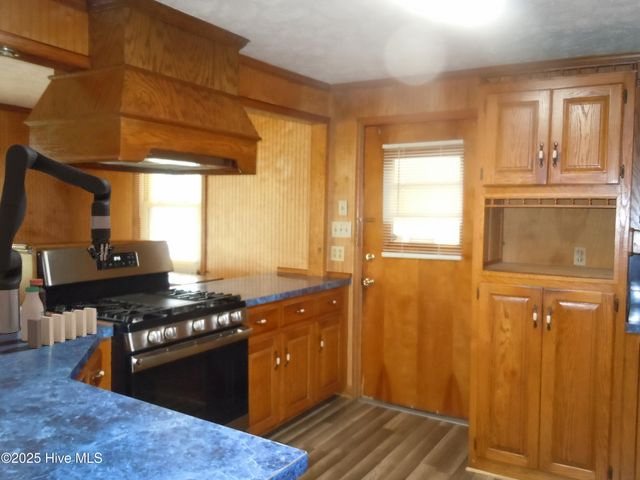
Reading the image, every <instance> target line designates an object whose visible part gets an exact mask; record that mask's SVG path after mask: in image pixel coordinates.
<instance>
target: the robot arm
mask: <svg viewBox="0 0 640 480" xmlns="http://www.w3.org/2000/svg"><path fill="white" fill-rule="evenodd" d="M4 164H5V165H4V177H3V178H4V179H3V184H2V185H3V186H2V191H1V197H0V334H10V333H11V334H12V333H17V332H21V289H20V288H21V283H22V280H23V257H22V255H21V253H20V251H18V250H17V249H14V248H13V243H14V240H15V238H16V235H17V234H18V232H19V230H20V228H21V227H22V225H23V223H24V220H25V217H26V213H27V206H28V197H27V192H26V186H25V185H26V184H25V182H26V175H27V171H28V170H33V171H37V172H41V173H43V174H47V175H49V176H51V177H53V178H55V179H56V180H58V181H61V182H63V183H65V184H68V185H70V186H73V187H76V188H80V189H81V190H84V191H86V192H88V193H89V194H93V202H92V203H91V205H90V211H91V212H90V215H91V216H90V239H91V241H92V242H91V243H90V244H91V245H90V246H89V247H87V248H86V251H87V252H88V254H89V255H90V257H91V258H92V260H95V261H96V269H97V270H98V271H103V270H105V269H106V261H107V260H108V259H110V257H111V256H112V254H113V252H114V249H115V247H116V246H114V245H111V241H110V239H111V237H112V232H111V226H112V225H111V222H112V221H111V214H110V212H111V209H110V208H111V207H110V205H111V199H112V184H111V183H110V181H109V180H108V179H105V178H102V177H99V176H95V175H92V174H90V173H87V172H86V171H84V170H82V169H80V168H77V167H74V166H72V165H69V164H66V163H64V162H63V163H62V162H60V161H57V160H55V159H52V158H50V157H48V156H46V155H44V154H42V153H40V152H39V151H37V150H35V149H33V148H32V147H30V146H29V145H24V144H21V143H19V144H18V143H16V144H12V145H10V146H9V147H8V149H7V150H6V153H5V163H4Z"/></svg>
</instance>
